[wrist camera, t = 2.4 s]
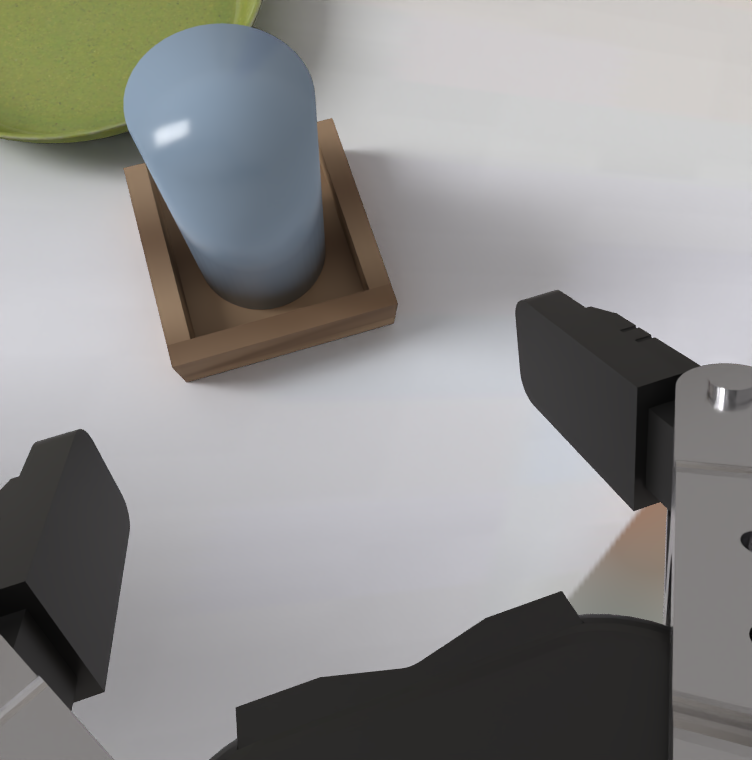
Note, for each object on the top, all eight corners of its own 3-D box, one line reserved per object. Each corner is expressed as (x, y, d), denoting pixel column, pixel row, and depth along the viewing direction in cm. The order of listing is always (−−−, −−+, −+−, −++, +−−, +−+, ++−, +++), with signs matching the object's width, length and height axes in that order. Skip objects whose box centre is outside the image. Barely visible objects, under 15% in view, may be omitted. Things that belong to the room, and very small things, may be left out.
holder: (393, 323, 29) (397, 303, 27) (186, 382, 28) (172, 367, 25) (333, 149, 31) (332, 118, 29) (140, 197, 30) (123, 167, 28)
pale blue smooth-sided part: (341, 290, 28) (338, 154, 19) (215, 324, 28) (145, 201, 18) (296, 153, 30) (272, -33, 21) (177, 181, 30) (96, 2, 20)
